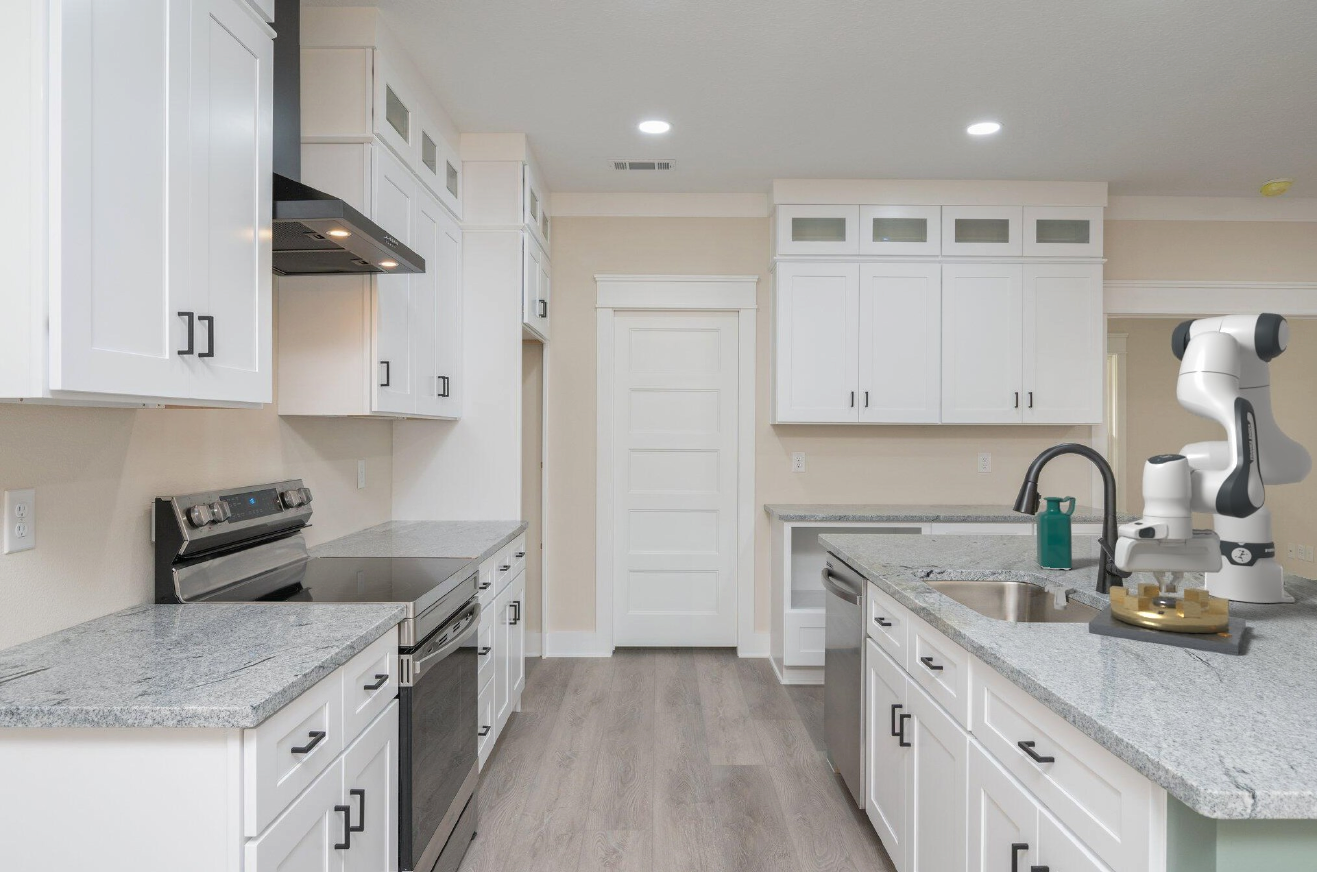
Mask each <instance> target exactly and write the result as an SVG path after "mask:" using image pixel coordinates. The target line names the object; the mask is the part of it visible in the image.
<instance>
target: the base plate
mask: <svg viewBox="0 0 1317 872" xmlns="http://www.w3.org/2000/svg"><path fill="white" fill-rule="evenodd" d="M1246 625H1247V622H1246V618H1243V617H1233V616H1229V628H1228V629H1227V630H1224V631H1220V632H1211V633H1191V632H1176V631H1167V630H1159V629H1153V628H1147V627H1142V626H1138V625H1133V624H1130V623H1126V622H1123V621H1120V620H1118V619H1116V618H1114V617H1113V616H1112V615H1111V602H1110V603H1109V604H1108V605H1107V606H1105V608H1103V610H1101V611H1100V612H1099V613H1098V614H1097V615H1096V616H1095V617H1094V618H1093V619H1092V620H1090V622H1088V633H1089V634H1095V635H1099V636H1101V635H1102V636H1108V637H1114V638H1121V639H1128V640H1134V641H1140V642H1141V641H1142V642H1147V643H1154V644H1161V645H1167V646H1173V647H1174V646H1175V647H1179V648H1186V649H1191V650H1197V651H1198V650H1199V651H1207V652H1213V653H1219V654H1224V655H1225V654H1226V655H1233V656H1239V654H1240V651H1241V647H1242V643H1243V639H1244V636H1245V632H1246V629H1247V626H1246Z"/></svg>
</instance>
